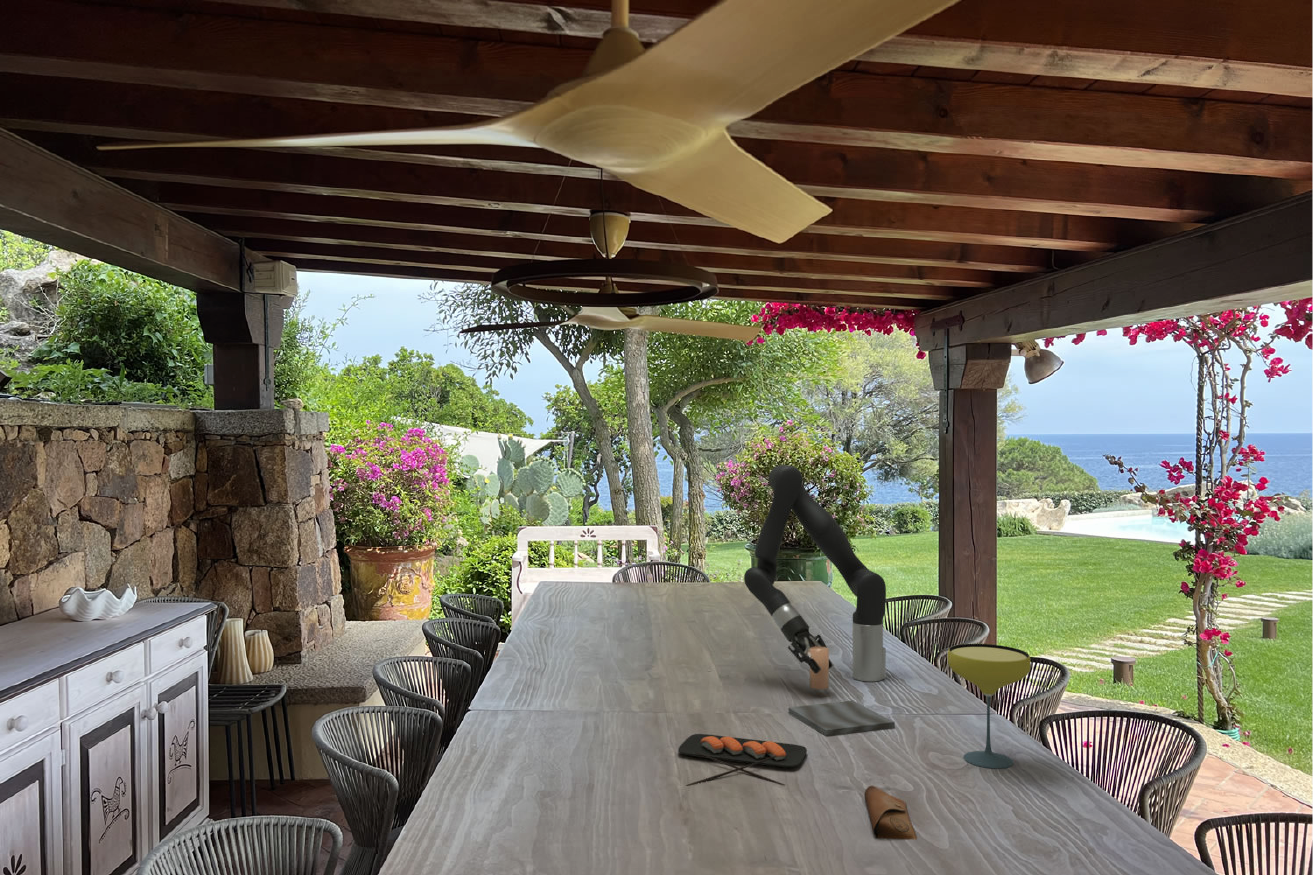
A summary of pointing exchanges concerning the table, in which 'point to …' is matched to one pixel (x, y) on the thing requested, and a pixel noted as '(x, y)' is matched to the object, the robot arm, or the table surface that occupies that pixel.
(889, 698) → the table surface
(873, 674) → the robot arm
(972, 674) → the cocktail glass
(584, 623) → the table surface
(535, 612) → the table surface
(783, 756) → the sushi plate
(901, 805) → the sunglasses case
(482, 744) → the table surface
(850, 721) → the charcoal board
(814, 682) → the tan dome-topped cylinder
